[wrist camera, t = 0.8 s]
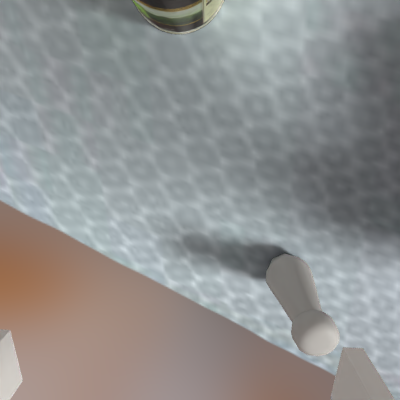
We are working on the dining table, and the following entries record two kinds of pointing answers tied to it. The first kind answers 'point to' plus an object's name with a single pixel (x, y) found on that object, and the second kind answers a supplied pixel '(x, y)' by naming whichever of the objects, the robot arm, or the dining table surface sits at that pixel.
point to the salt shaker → (302, 305)
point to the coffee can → (178, 14)
